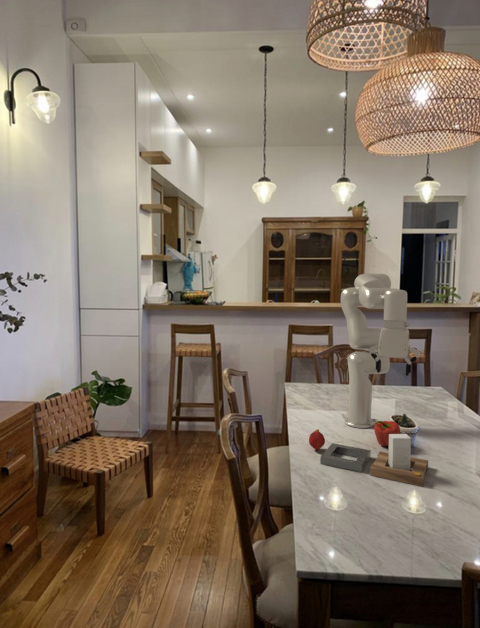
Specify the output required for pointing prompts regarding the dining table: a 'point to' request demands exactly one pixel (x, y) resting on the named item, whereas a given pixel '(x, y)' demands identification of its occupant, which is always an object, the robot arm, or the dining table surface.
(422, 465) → the frame
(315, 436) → the onion
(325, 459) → the gray square frame
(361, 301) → the robot arm
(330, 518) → the dining table surface
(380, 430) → the vegetable
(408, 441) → the skincare box
